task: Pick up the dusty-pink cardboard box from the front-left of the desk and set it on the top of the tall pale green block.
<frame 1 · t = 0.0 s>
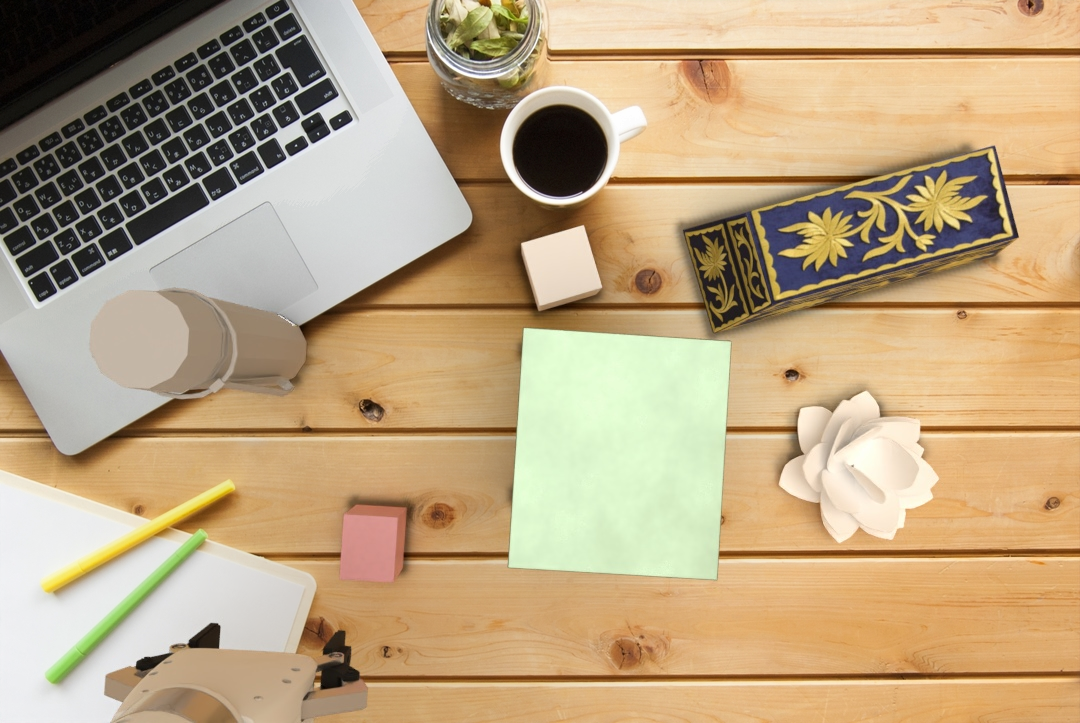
hand: (277, 646, 57), 15 cm above the table, tool pointing down, fingers open, 9 cm apart
lotus flower: (846, 463, 73), on the table
decorative box: (839, 243, 74), on the table
pale green block: (589, 427, 73), on the table
pink box: (379, 536, 72), on the table
water bottle: (280, 357, 72), on the table
adhesive note: (558, 274, 73), on the table
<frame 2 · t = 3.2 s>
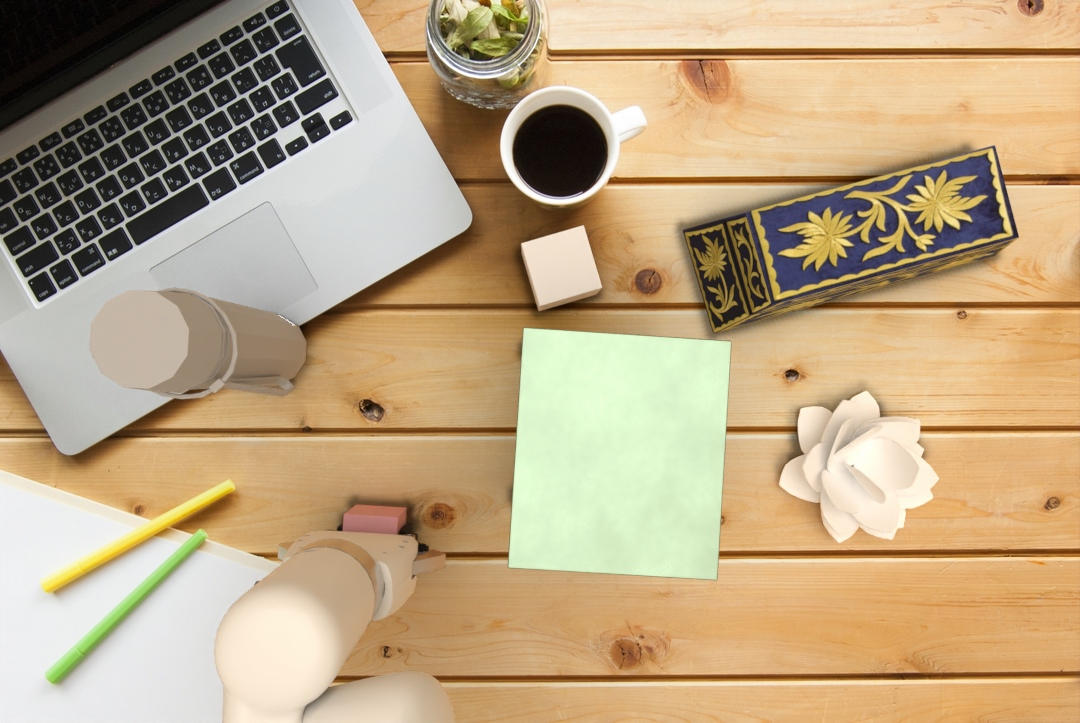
hand: (378, 537, 72), 0 cm above the table, tool pointing down, fingers closed on pink box, 5 cm apart
pink box: (379, 536, 72), on the table, touching gripper
everything else where it was.
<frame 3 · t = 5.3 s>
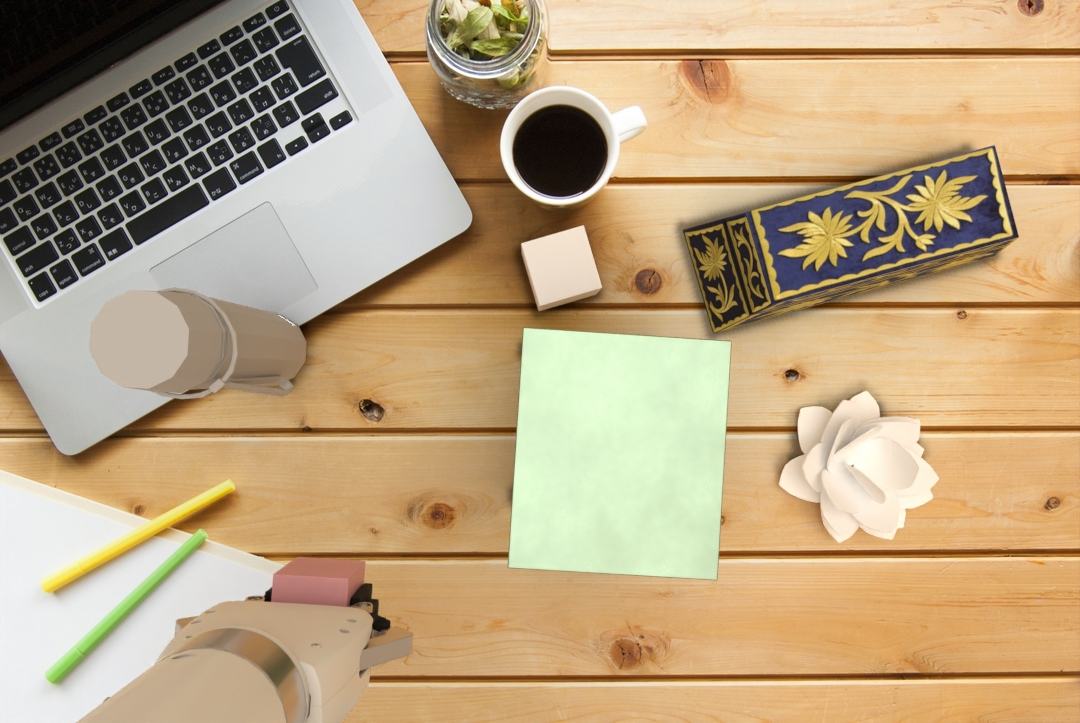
hand: (326, 602, 53), 19 cm above the table, tool pointing down, fingers closed on pink box, 5 cm apart
pink box: (328, 600, 53), point 19 cm above the table, touching gripper
everything else where it was.
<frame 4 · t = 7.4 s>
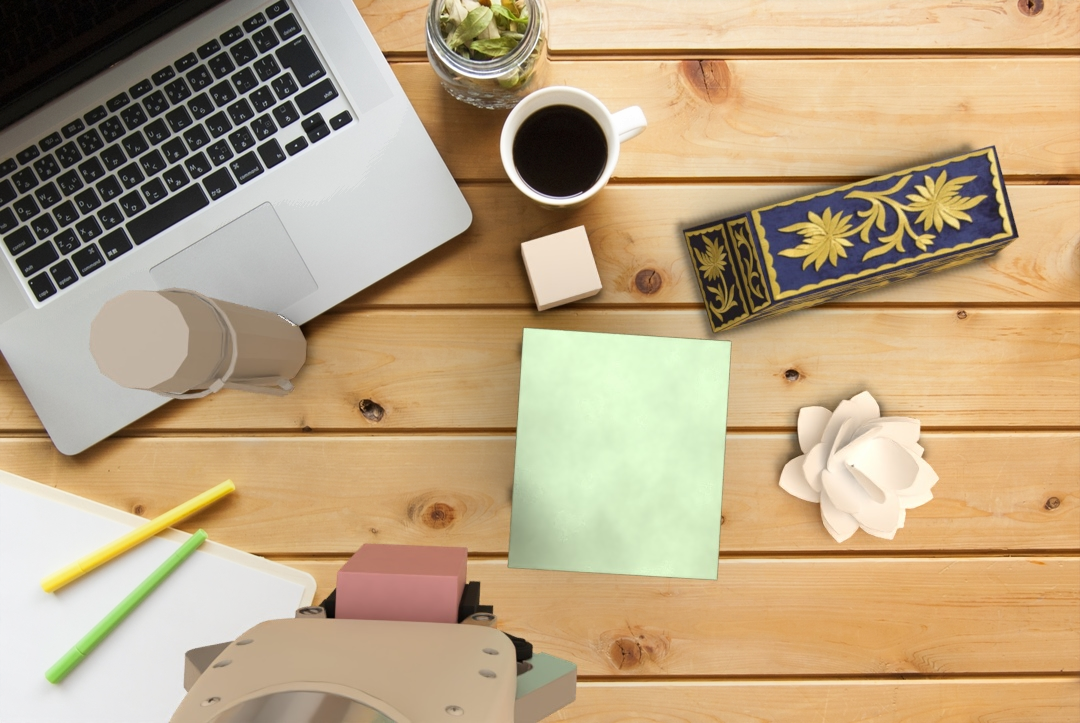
hand: (412, 611, 35), 38 cm above the table, tool pointing down, fingers closed on pink box, 5 cm apart
pink box: (413, 607, 35), point 37 cm above the table, touching gripper
everything else where it was.
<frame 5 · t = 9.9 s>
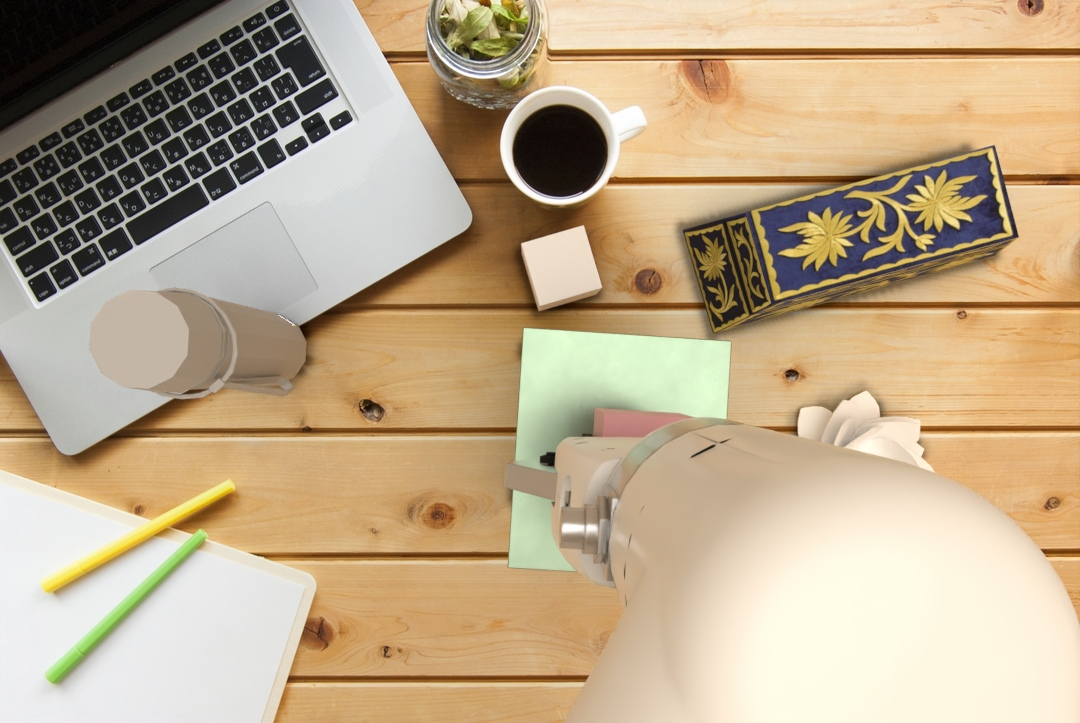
hand: (635, 464, 42), 31 cm above the table, tool pointing down, fingers closed on pink box, 5 cm apart
pink box: (634, 462, 43), point 30 cm above the table, touching gripper
everything else where it was.
when the fingers open (24 cm above the table, at t = 11.7 s): pink box stays where it is, resting on pale green block.
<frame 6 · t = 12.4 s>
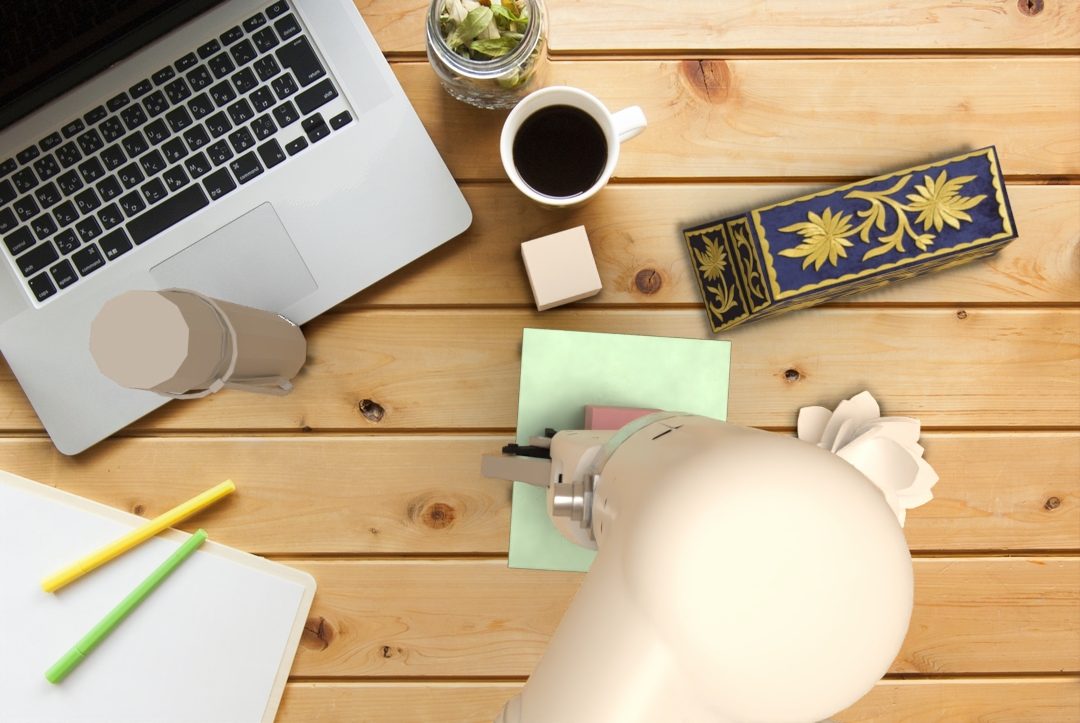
hand: (623, 457, 47), 26 cm above the table, tool pointing down, fingers open, 9 cm apart
pink box: (620, 451, 49), point 24 cm above the table, touching pale green block
everything else where it was.
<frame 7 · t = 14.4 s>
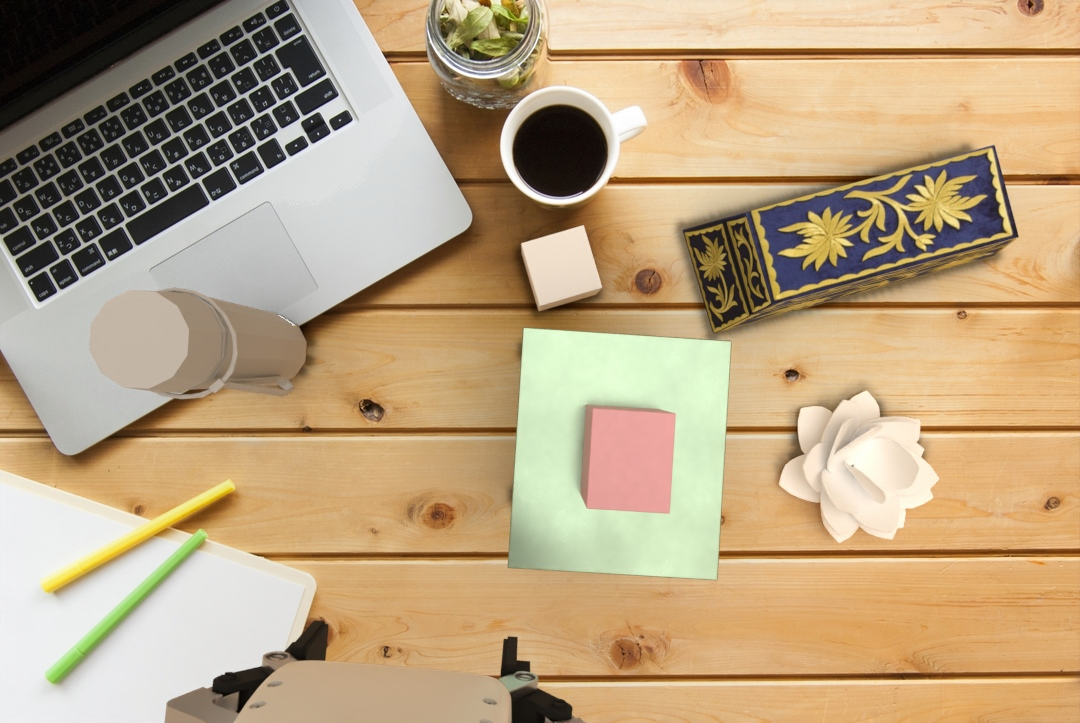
hand: (414, 658, 37), 35 cm above the table, tool pointing down, fingers open, 9 cm apart
nothing on the table moved.
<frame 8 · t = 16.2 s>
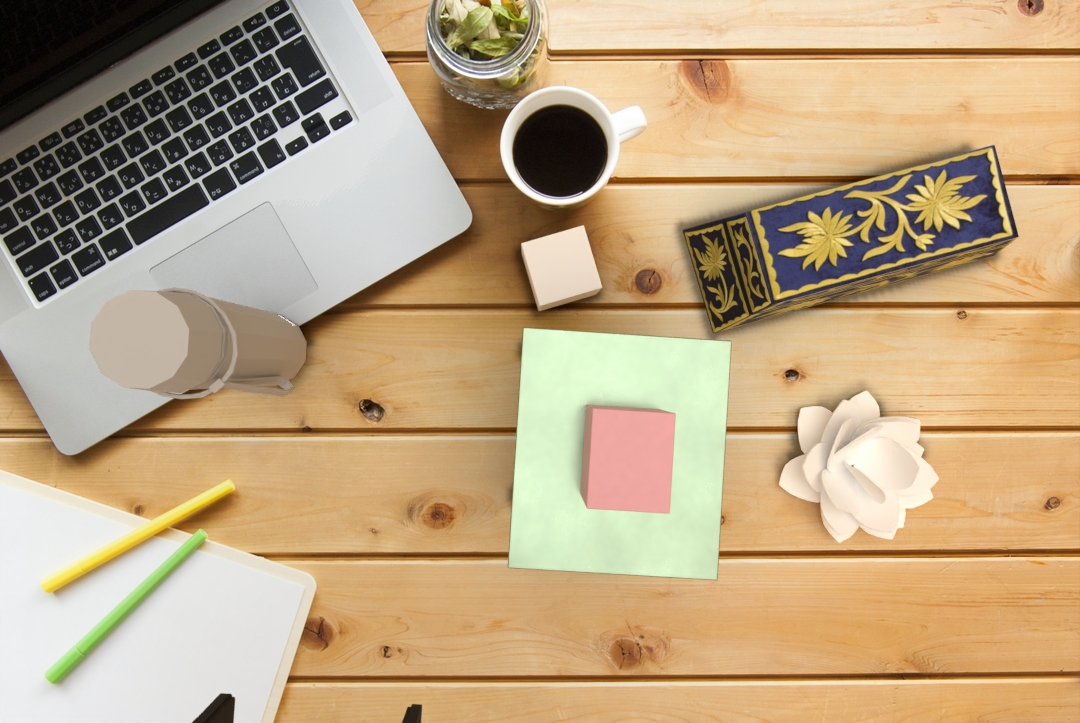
nothing on the table moved.
at the end: pink box inside the target area on the pale green block (0.1 cm from its centre), point 24.0 cm above the pale green block's base; pink box tilted 0° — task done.
